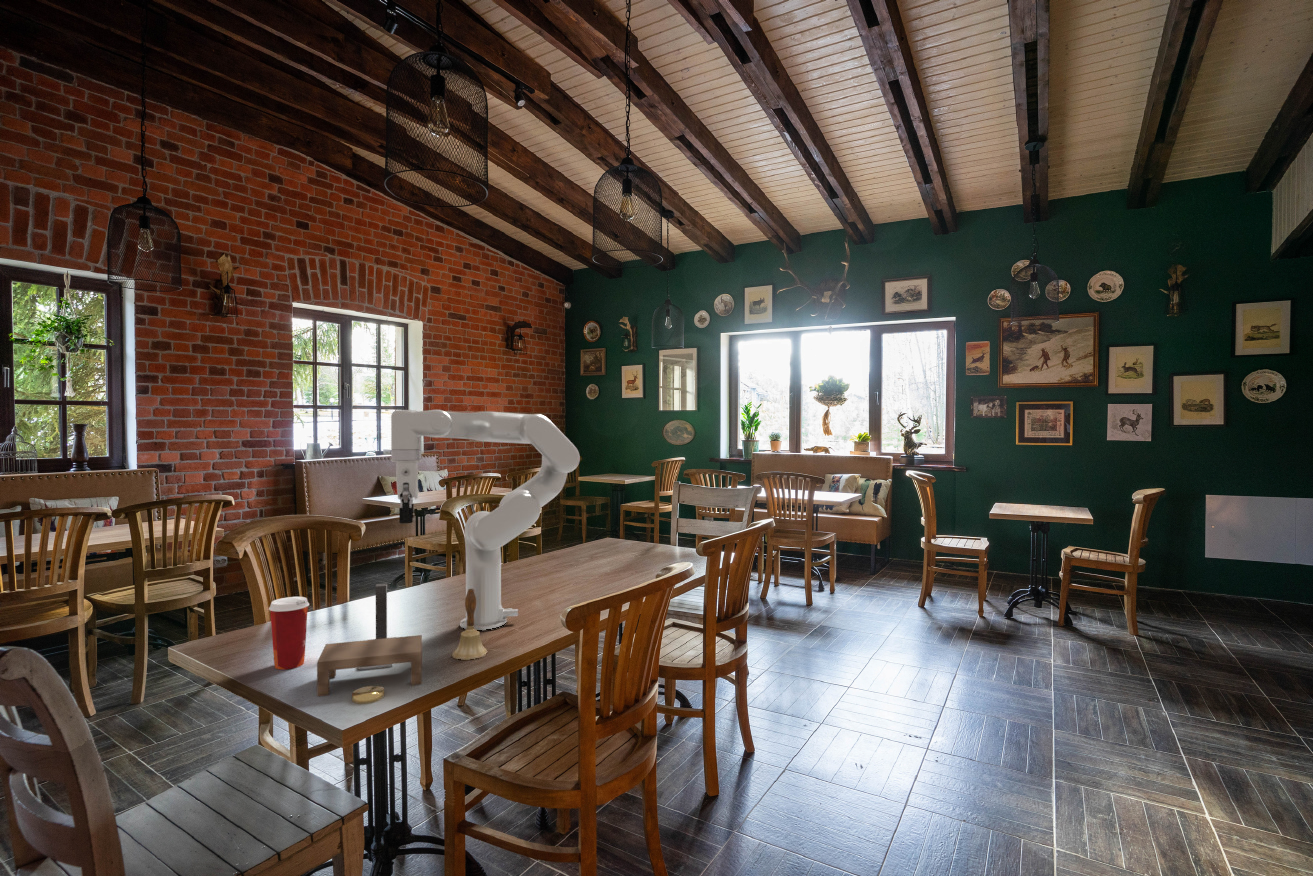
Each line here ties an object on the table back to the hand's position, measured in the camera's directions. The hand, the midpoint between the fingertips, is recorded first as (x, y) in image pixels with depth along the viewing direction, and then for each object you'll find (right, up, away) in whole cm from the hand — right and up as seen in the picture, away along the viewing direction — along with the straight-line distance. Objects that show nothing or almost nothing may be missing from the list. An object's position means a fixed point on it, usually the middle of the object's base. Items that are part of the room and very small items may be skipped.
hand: (406, 520), depth 175 cm
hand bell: (+21, -31, -16) cm, 41 cm away
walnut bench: (+5, -31, -32) cm, 44 cm away
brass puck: (+8, -31, -41) cm, 52 cm away
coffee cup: (-18, -31, -23) cm, 43 cm away
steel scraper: (-1, -31, -16) cm, 35 cm away
